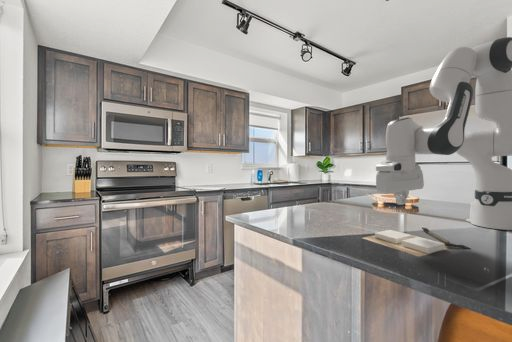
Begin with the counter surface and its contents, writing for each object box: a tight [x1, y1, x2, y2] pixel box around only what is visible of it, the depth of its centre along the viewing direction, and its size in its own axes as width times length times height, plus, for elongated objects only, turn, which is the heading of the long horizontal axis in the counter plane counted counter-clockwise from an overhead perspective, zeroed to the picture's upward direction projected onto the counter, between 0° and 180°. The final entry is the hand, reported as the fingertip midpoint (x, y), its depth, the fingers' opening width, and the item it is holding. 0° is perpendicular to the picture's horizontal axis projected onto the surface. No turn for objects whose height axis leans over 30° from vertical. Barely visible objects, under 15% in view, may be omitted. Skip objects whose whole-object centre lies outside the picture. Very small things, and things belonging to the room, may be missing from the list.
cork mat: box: [362, 230, 454, 258], centre depth 82 cm, size 18×20×1 cm
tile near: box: [402, 236, 446, 255], centre depth 76 cm, size 2×8×8 cm
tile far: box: [374, 229, 412, 244], centre depth 85 cm, size 2×8×8 cm
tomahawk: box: [421, 227, 472, 250], centre depth 84 cm, size 21×7×1 cm, turn 166°
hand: (401, 203), depth 87 cm, fingers closed
